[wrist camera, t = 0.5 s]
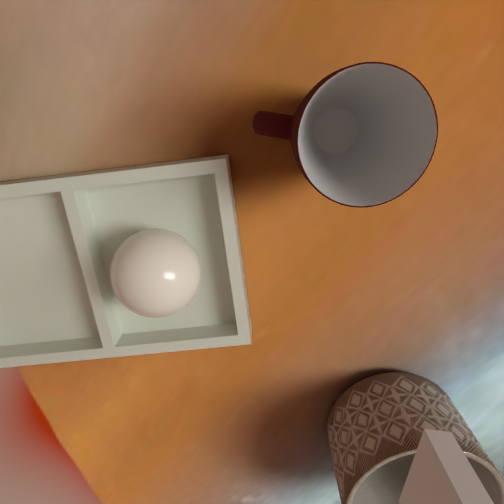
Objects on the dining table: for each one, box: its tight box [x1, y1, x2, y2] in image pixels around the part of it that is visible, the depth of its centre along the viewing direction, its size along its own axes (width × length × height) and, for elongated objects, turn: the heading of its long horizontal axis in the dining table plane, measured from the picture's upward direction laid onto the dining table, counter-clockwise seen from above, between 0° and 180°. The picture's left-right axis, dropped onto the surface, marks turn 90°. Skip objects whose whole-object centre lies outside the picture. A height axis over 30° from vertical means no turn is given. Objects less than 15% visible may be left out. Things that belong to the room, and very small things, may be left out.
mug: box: [253, 62, 438, 207], centre depth 28 cm, size 10×8×10 cm
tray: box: [0, 154, 252, 368], centre depth 35 cm, size 16×25×3 cm, turn 97°
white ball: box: [110, 228, 202, 318], centre depth 32 cm, size 7×7×7 cm
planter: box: [327, 372, 504, 504], centre depth 37 cm, size 13×13×10 cm
